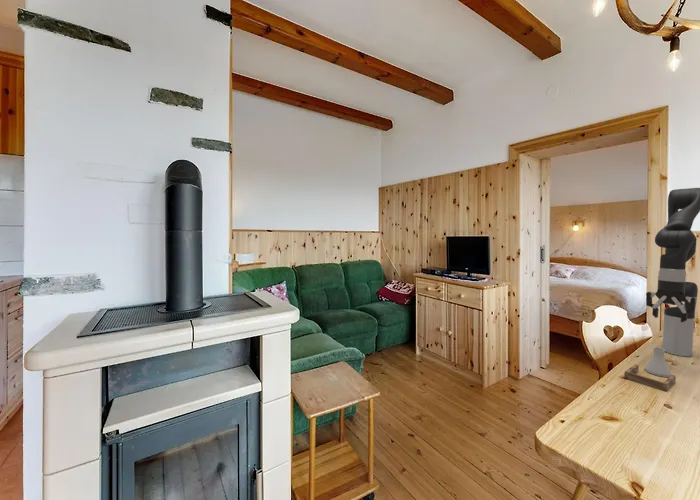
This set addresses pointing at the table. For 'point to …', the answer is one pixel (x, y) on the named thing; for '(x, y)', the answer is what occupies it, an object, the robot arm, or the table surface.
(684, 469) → the table surface
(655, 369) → the flask
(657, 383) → the corral
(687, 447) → the table surface
